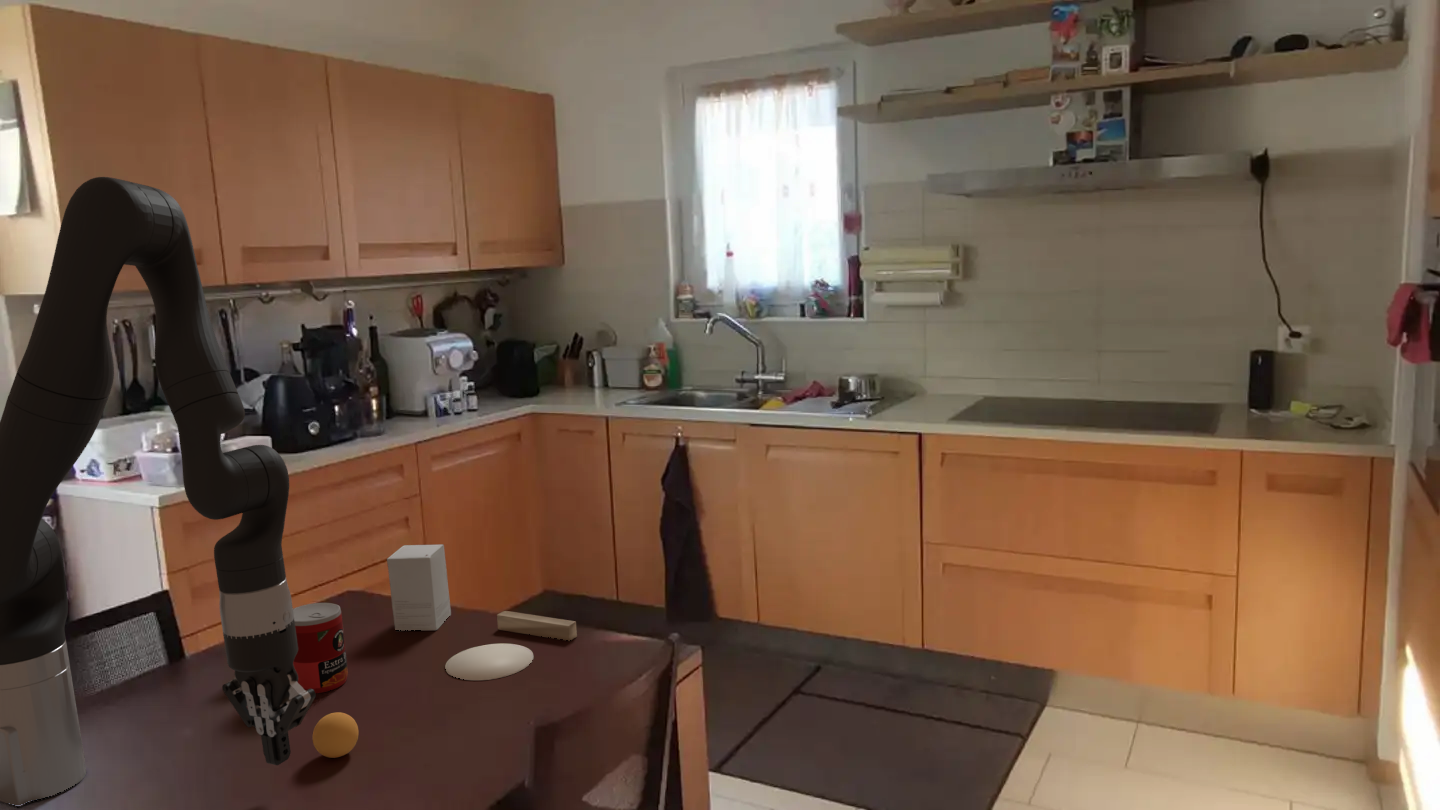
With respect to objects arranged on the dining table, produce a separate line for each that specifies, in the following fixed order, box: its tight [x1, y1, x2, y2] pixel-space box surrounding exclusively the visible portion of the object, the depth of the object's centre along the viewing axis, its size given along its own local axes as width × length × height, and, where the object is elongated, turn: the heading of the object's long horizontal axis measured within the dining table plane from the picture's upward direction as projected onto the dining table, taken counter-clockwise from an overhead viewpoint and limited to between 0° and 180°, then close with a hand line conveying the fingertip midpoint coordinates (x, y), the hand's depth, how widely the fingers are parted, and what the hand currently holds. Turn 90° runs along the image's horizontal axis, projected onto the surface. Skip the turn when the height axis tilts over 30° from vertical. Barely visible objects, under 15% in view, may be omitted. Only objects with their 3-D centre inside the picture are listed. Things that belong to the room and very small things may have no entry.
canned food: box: [293, 602, 349, 694], centre depth 151 cm, size 8×8×11 cm
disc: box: [444, 643, 534, 681], centre depth 157 cm, size 13×13×1 cm
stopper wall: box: [496, 610, 578, 642], centre depth 167 cm, size 2×14×2 cm, turn 64°
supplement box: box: [386, 543, 452, 632], centre depth 173 cm, size 7×7×13 cm
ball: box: [312, 711, 360, 759], centre depth 130 cm, size 5×5×5 cm
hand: (278, 761), depth 122 cm, fingers closed
